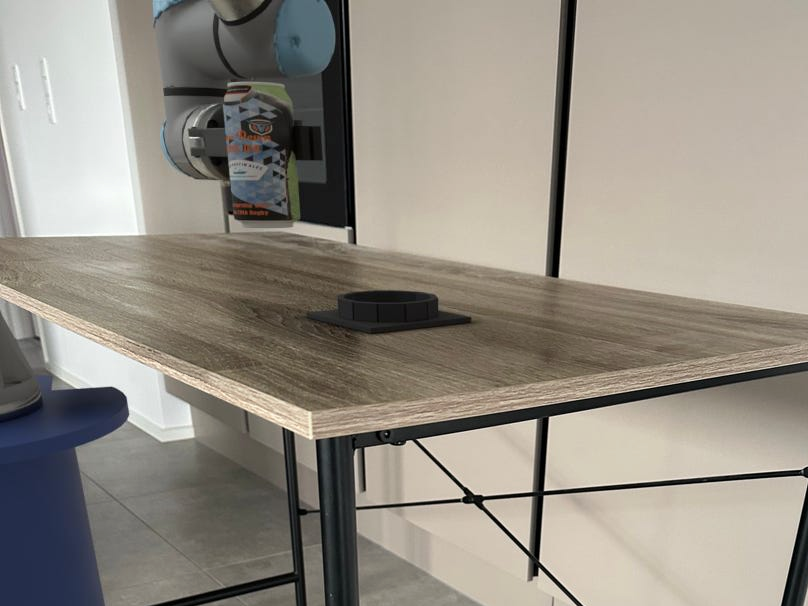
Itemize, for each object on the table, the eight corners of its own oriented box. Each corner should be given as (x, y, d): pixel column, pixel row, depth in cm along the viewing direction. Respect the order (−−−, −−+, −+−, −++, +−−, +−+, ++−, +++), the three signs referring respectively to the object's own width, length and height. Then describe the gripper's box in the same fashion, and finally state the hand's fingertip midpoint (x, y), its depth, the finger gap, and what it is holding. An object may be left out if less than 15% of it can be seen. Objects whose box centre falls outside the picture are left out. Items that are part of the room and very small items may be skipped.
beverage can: (225, 236, 88) (190, 88, 81) (290, 222, 92) (260, 80, 86) (263, 237, 83) (228, 81, 77) (328, 222, 88) (300, 73, 81)
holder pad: (371, 333, 102) (370, 308, 101) (306, 317, 112) (304, 294, 111) (471, 322, 110) (471, 298, 109) (403, 307, 120) (402, 286, 118)
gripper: (291, 181, 106) (382, 189, 88) (171, 182, 100) (242, 191, 82) (285, 105, 102) (378, 97, 84) (160, 101, 96) (232, 91, 78)
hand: (311, 143), depth 83 cm, fingers closed on beverage can
